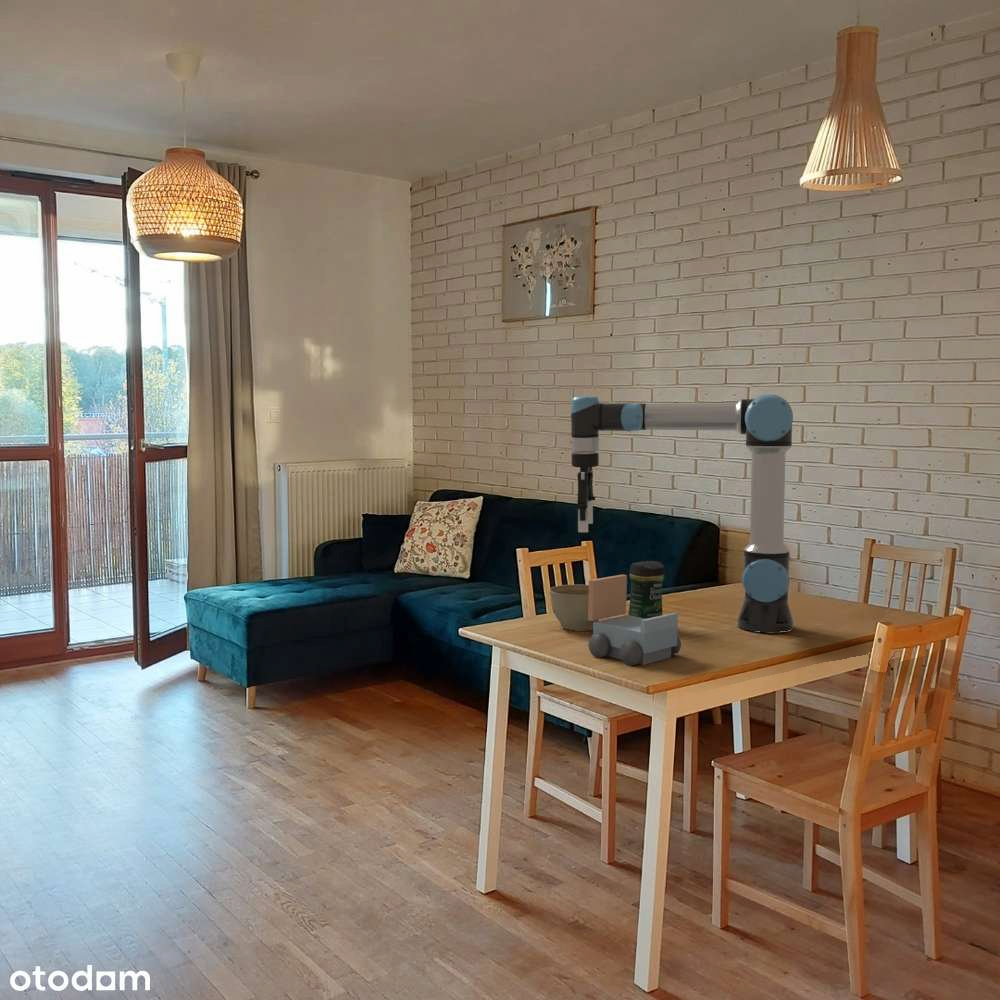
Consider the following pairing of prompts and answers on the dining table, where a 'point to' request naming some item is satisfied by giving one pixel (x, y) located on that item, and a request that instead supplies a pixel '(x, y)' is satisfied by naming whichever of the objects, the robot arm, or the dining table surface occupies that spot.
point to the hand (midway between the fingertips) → (585, 527)
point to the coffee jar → (646, 589)
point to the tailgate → (607, 597)
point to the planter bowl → (571, 606)
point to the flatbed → (636, 638)
